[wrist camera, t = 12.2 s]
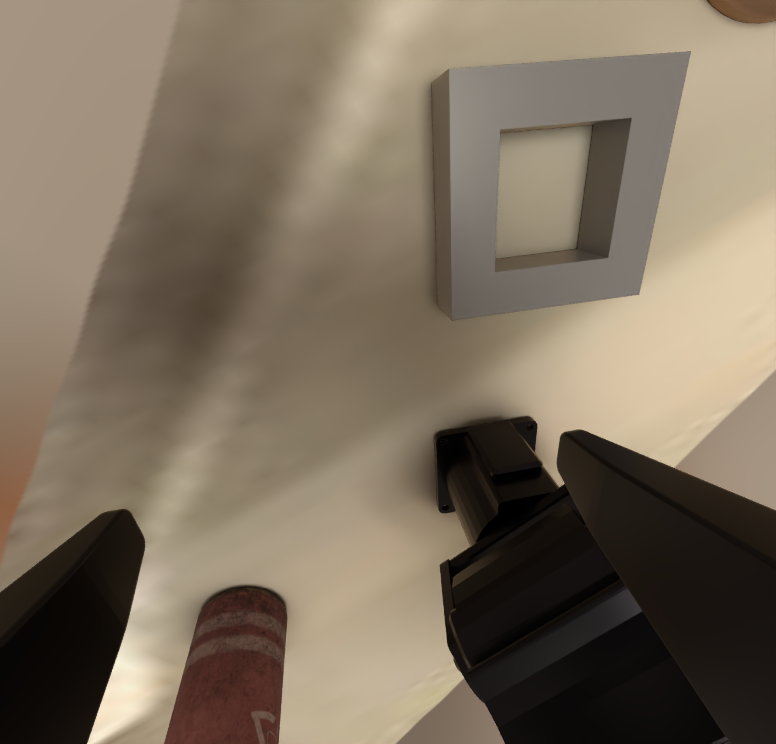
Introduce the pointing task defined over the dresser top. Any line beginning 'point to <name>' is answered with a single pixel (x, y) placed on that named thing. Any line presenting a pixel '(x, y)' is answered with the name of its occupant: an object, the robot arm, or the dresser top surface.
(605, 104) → the collar
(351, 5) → the dresser top surface
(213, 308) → the dresser top surface
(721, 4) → the pad
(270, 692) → the can
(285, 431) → the dresser top surface
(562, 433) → the robot arm
